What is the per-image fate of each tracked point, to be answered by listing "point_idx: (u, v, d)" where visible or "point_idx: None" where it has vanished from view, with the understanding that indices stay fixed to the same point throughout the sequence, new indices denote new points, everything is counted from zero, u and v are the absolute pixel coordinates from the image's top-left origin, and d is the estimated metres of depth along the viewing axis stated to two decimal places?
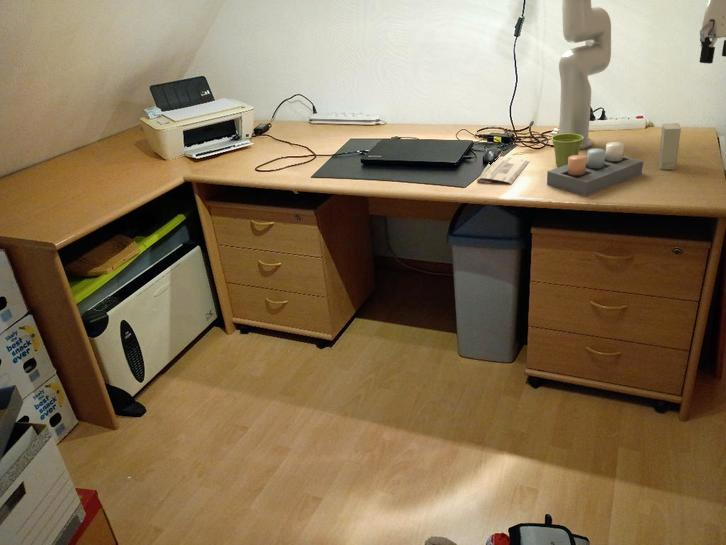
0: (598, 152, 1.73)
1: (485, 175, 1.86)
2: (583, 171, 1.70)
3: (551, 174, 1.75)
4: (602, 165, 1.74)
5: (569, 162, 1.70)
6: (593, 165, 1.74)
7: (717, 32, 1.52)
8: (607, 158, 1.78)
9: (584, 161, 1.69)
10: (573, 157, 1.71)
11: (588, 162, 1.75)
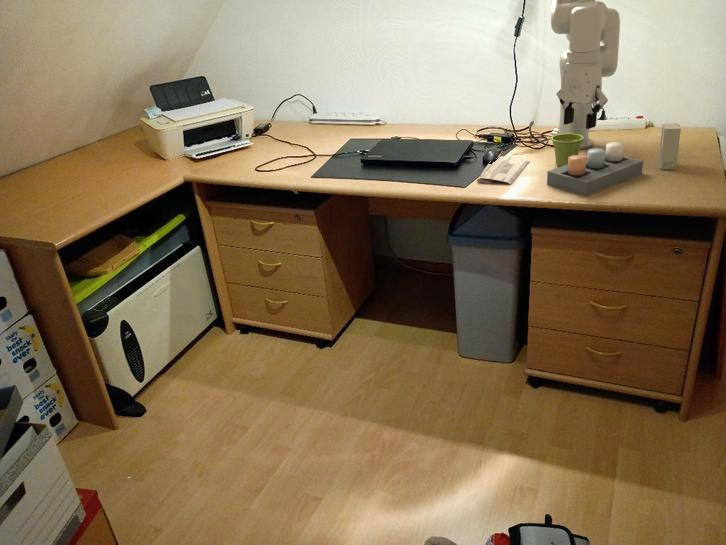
0: (598, 152, 1.73)
1: (485, 175, 1.86)
2: (583, 171, 1.70)
3: (551, 174, 1.75)
4: (602, 165, 1.74)
5: (569, 162, 1.70)
6: (593, 165, 1.74)
7: None
8: (607, 158, 1.78)
9: (584, 161, 1.69)
10: (573, 157, 1.71)
11: (588, 162, 1.75)
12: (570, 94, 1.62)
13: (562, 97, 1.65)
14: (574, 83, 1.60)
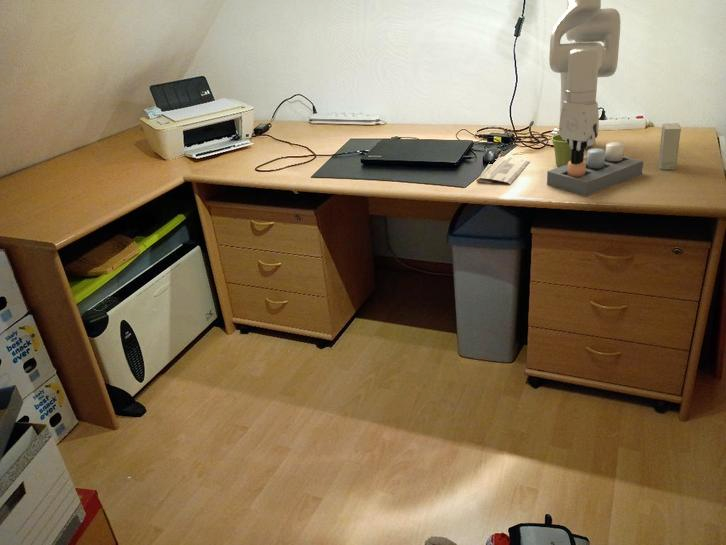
0: (598, 152, 1.73)
1: (485, 175, 1.86)
2: None
3: (551, 174, 1.75)
4: (602, 165, 1.74)
5: (569, 167, 1.71)
6: (593, 165, 1.74)
7: (597, 133, 1.64)
8: (607, 158, 1.78)
9: (584, 166, 1.70)
10: None
11: (588, 162, 1.75)
12: (568, 131, 1.66)
13: (560, 134, 1.69)
14: (572, 121, 1.64)
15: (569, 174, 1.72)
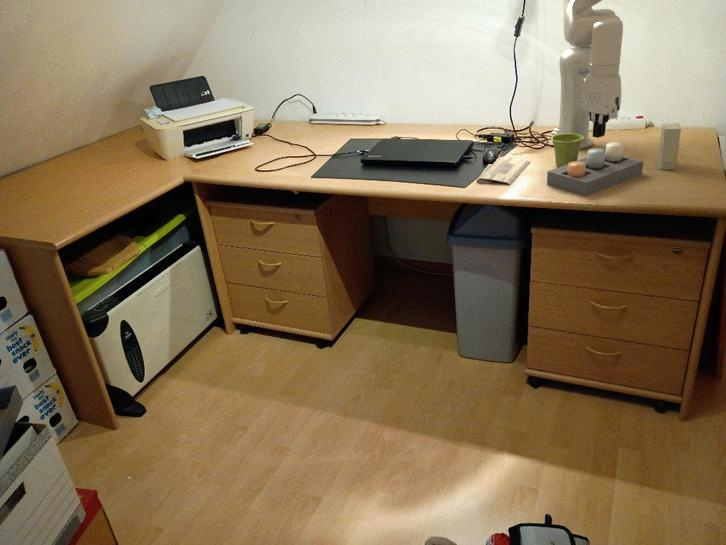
0: (598, 152, 1.73)
1: (484, 175, 1.86)
2: None
3: (551, 174, 1.75)
4: (602, 165, 1.74)
5: (569, 168, 1.71)
6: (593, 165, 1.74)
7: None
8: (607, 158, 1.78)
9: (584, 167, 1.70)
10: (573, 163, 1.72)
11: (588, 162, 1.75)
12: (590, 104, 1.68)
13: (582, 107, 1.71)
14: (594, 94, 1.66)
15: (569, 175, 1.72)
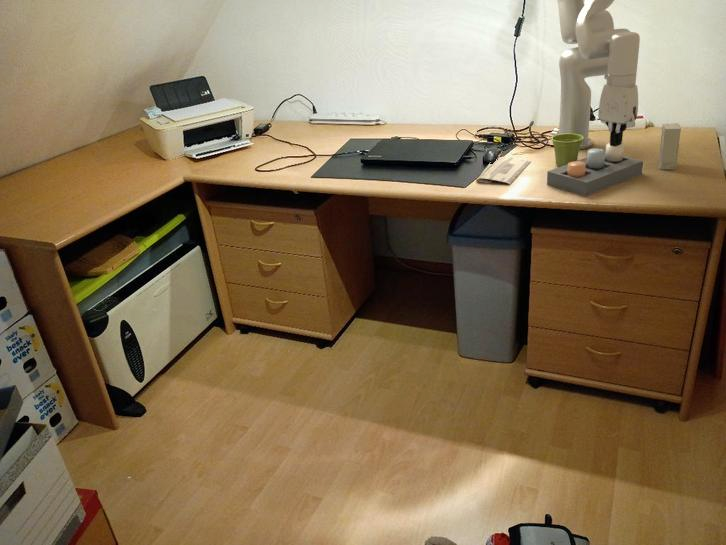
0: (598, 152, 1.73)
1: (484, 175, 1.86)
2: None
3: (551, 174, 1.75)
4: (602, 165, 1.74)
5: (569, 168, 1.71)
6: (593, 165, 1.74)
7: None
8: (607, 158, 1.78)
9: (584, 167, 1.70)
10: (573, 163, 1.72)
11: (588, 162, 1.75)
12: (608, 114, 1.73)
13: (600, 117, 1.75)
14: (612, 104, 1.71)
15: (569, 175, 1.72)
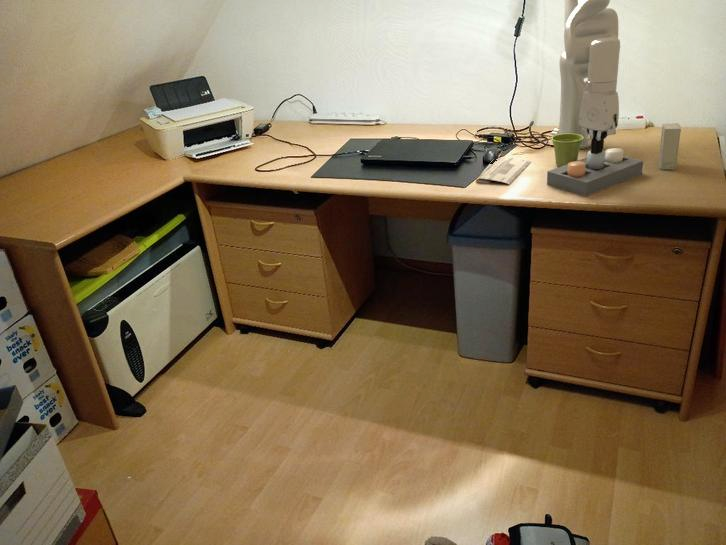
0: (597, 154, 1.73)
1: (484, 175, 1.86)
2: None
3: (551, 174, 1.75)
4: (602, 166, 1.74)
5: (569, 168, 1.71)
6: (593, 166, 1.74)
7: (617, 123, 1.67)
8: None
9: (584, 167, 1.70)
10: (573, 163, 1.72)
11: (588, 163, 1.75)
12: (588, 121, 1.69)
13: (580, 124, 1.72)
14: (592, 111, 1.67)
15: (569, 175, 1.72)
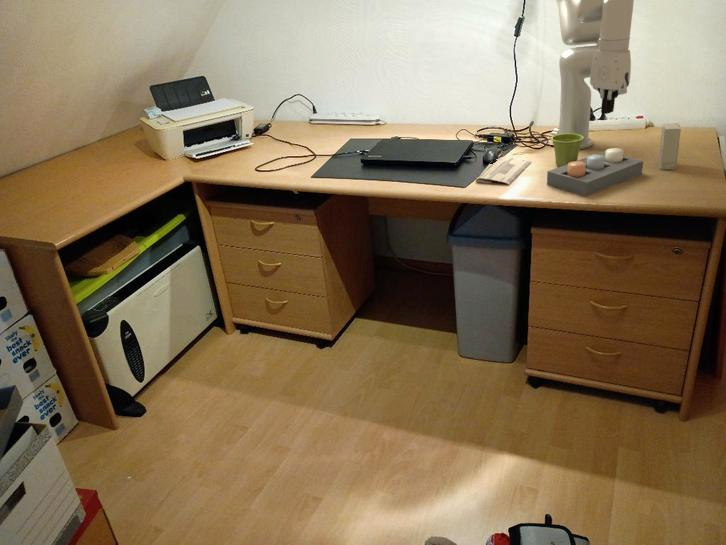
0: (597, 159, 1.73)
1: (484, 175, 1.86)
2: None
3: (551, 174, 1.75)
4: None
5: (569, 168, 1.71)
6: None
7: None
8: None
9: (584, 167, 1.70)
10: (573, 163, 1.72)
11: (588, 168, 1.76)
12: (599, 80, 1.68)
13: (591, 83, 1.71)
14: (604, 70, 1.66)
15: (569, 175, 1.72)
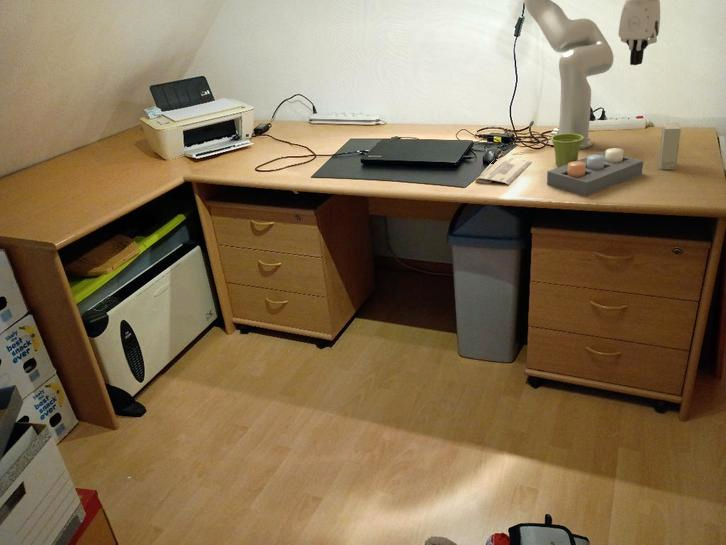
0: (597, 159, 1.73)
1: (483, 175, 1.86)
2: None
3: (551, 174, 1.75)
4: None
5: (569, 168, 1.71)
6: None
7: None
8: None
9: (584, 167, 1.70)
10: (573, 163, 1.72)
11: (588, 168, 1.76)
12: (628, 31, 1.70)
13: (620, 35, 1.73)
14: (633, 20, 1.68)
15: (569, 175, 1.72)
